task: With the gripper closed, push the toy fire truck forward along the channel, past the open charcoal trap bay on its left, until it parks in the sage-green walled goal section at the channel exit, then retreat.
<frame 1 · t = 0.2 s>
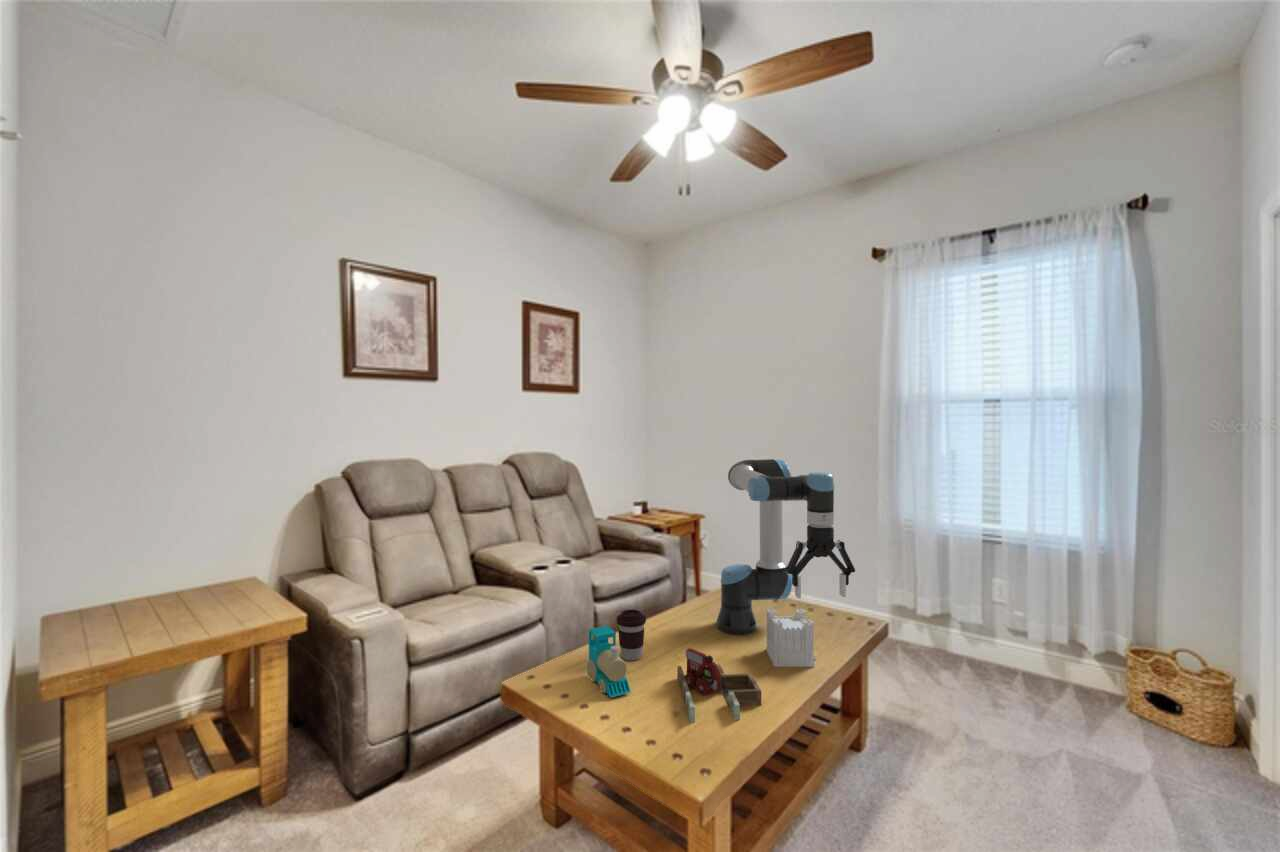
hand: (820, 596, 161), 28 cm above the table, fingers open, 13 cm apart
channel: (706, 697, 157), on the table
trap bay: (740, 696, 158), on the table
toy train: (609, 686, 165), on the table
toy fire truck: (702, 688, 163), on the table
coffee cup: (631, 657, 184), on the table
castle model: (792, 658, 182), on the table
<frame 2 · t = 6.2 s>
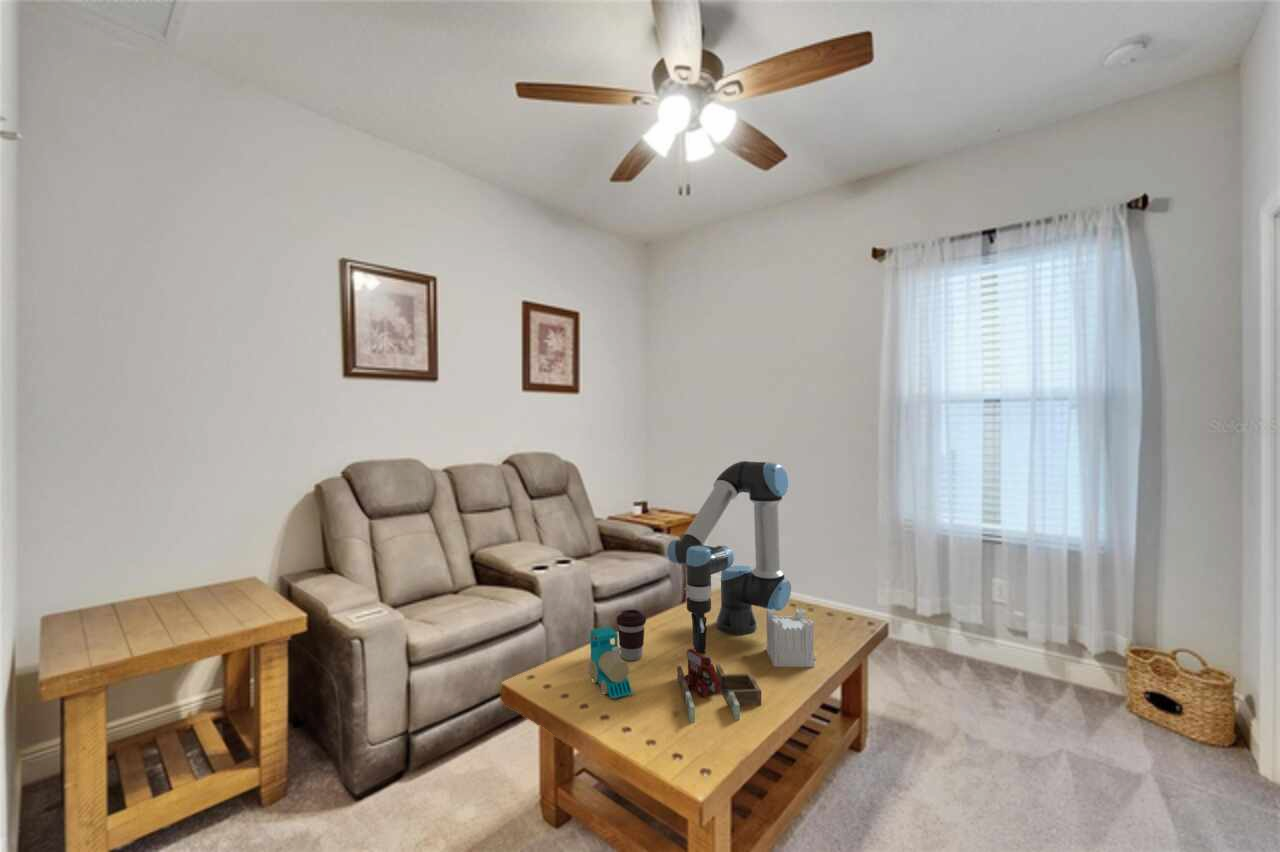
hand: (699, 672, 168), 2 cm above the table, fingers closed
toy fire truck: (702, 689, 162), on the table, touching gripper, hand
everything else where it was.
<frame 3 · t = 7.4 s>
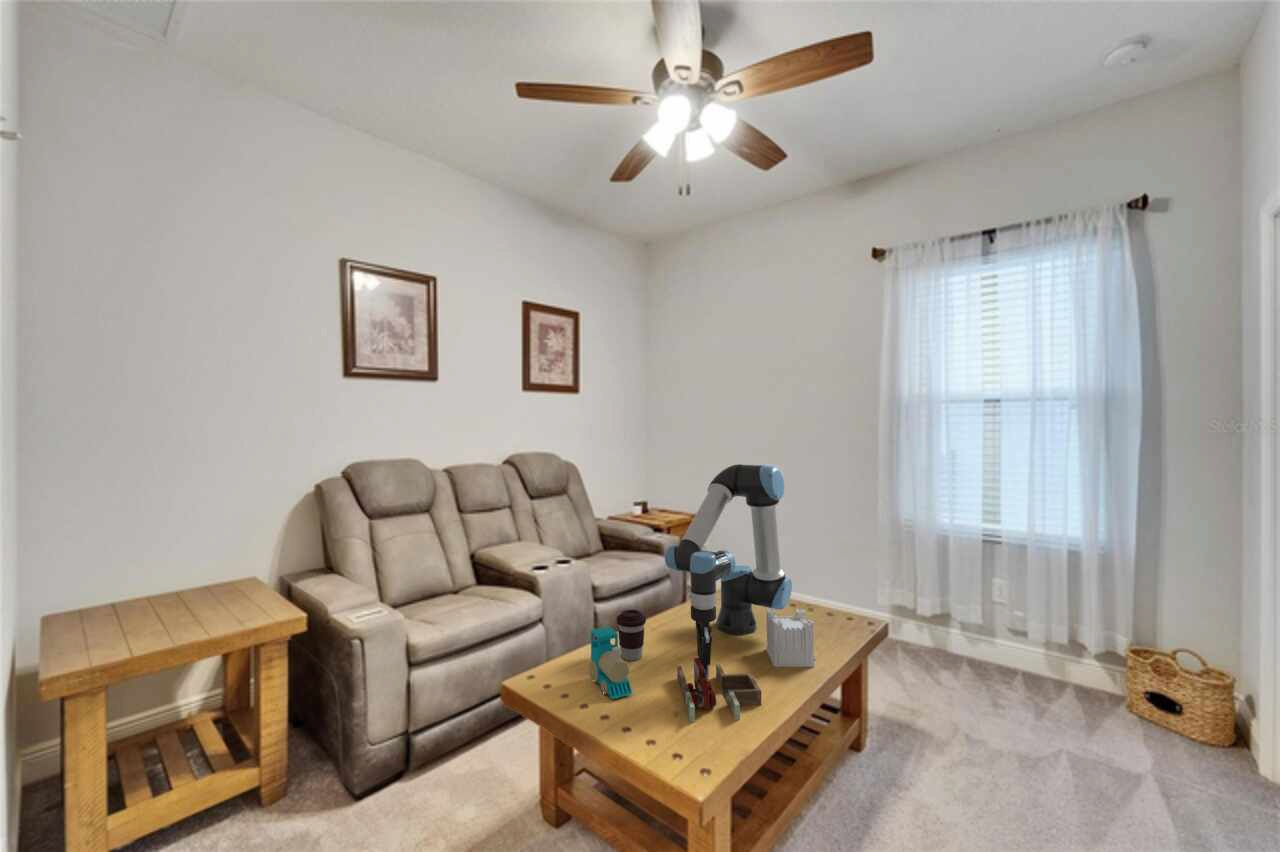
hand: (703, 684, 161), 2 cm above the table, fingers closed
toy fire truck: (701, 702, 154), on the table, touching channel, gripper
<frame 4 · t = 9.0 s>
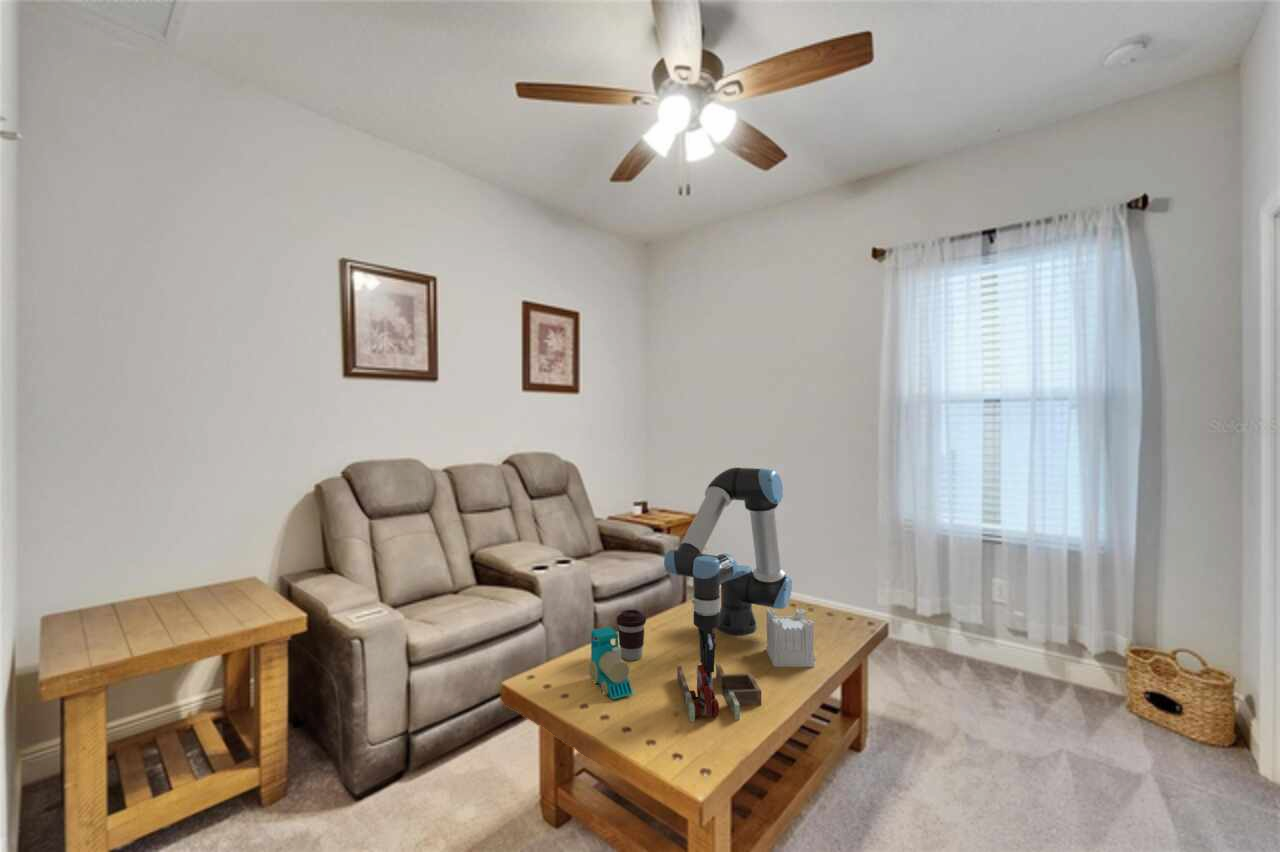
hand: (707, 692, 157), 2 cm above the table, fingers closed
toy fire truck: (703, 711, 150), on the table, touching channel, gripper, hand
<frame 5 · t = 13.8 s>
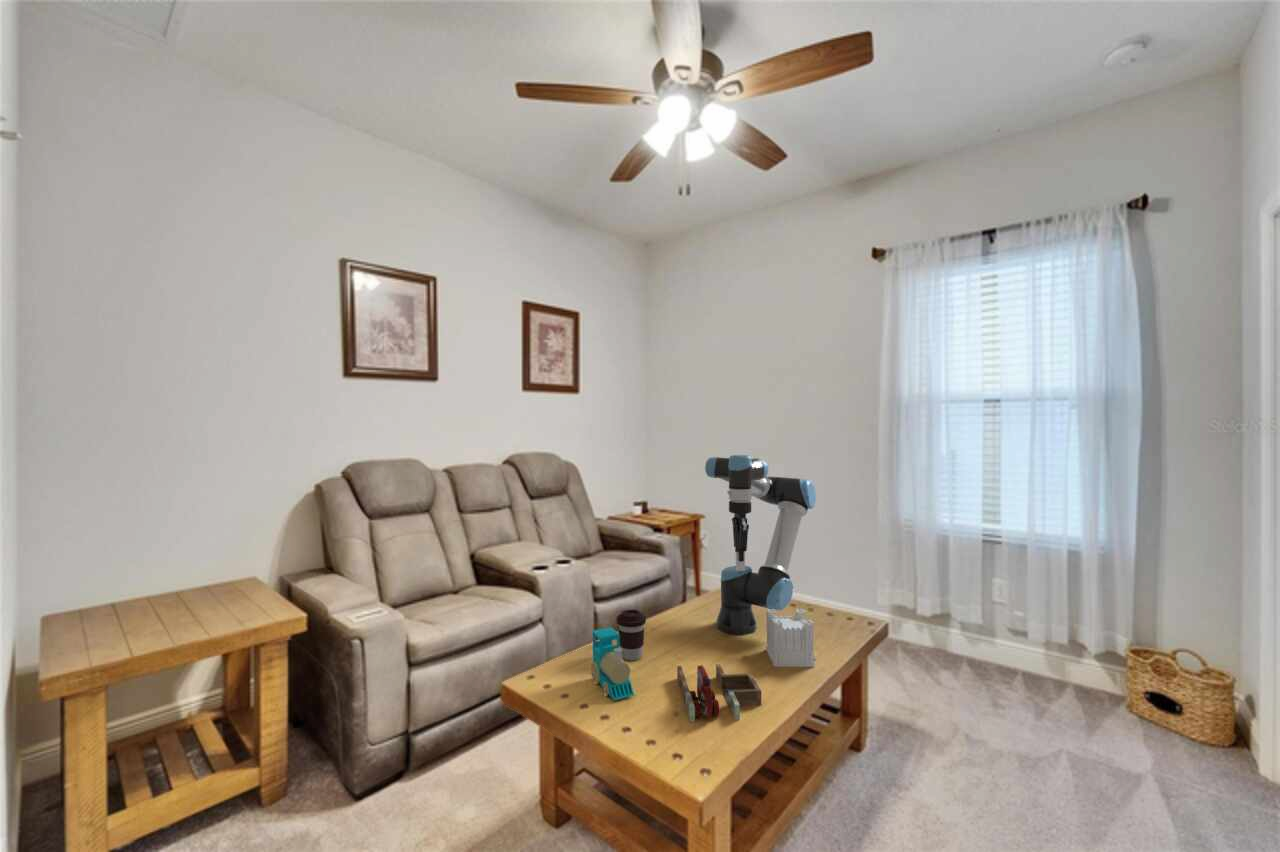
hand: (740, 570, 184), 29 cm above the table, fingers closed
toy fire truck: (704, 711, 150), on the table
at the end: toy fire truck inside the target area (2.8 cm from its centre), on the table; toy fire truck tilted 0° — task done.
